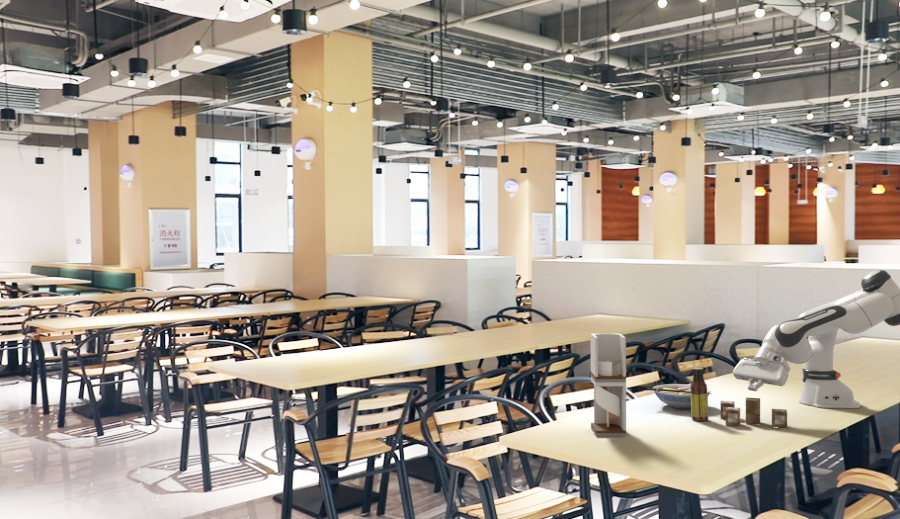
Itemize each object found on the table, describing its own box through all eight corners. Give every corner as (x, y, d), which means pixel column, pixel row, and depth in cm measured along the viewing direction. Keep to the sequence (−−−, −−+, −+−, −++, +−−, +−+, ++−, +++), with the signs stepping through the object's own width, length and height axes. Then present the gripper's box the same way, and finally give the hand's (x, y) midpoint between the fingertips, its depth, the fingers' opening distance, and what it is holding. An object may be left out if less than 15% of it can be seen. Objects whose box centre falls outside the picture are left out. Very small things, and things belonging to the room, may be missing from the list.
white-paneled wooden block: (740, 423, 290) (740, 407, 290) (740, 427, 285) (740, 410, 285) (725, 422, 292) (725, 406, 292) (725, 426, 287) (725, 409, 287)
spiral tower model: (591, 428, 286) (590, 333, 285) (620, 428, 286) (619, 333, 284) (595, 436, 274) (595, 337, 273) (626, 436, 274) (625, 337, 273)
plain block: (760, 422, 292) (760, 398, 292) (760, 425, 288) (760, 400, 288) (745, 421, 294) (745, 397, 294) (745, 424, 290) (745, 400, 289)
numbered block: (786, 425, 287) (786, 409, 286) (787, 429, 282) (787, 412, 282) (771, 424, 288) (771, 408, 288) (772, 428, 283) (772, 411, 283)
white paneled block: (734, 416, 301) (734, 401, 301) (734, 420, 296) (734, 403, 296) (720, 416, 303) (720, 400, 303) (720, 419, 298) (720, 402, 298)
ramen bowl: (716, 403, 324) (716, 384, 324) (710, 415, 304) (710, 394, 303) (655, 399, 335) (655, 380, 335) (645, 410, 314) (645, 390, 314)
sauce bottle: (708, 418, 299) (708, 367, 298) (708, 422, 293) (708, 369, 292) (690, 417, 301) (690, 366, 300) (690, 421, 295) (690, 369, 294)
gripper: (738, 352, 304) (723, 380, 298) (788, 359, 287) (773, 389, 282) (744, 362, 306) (730, 390, 301) (794, 369, 290) (780, 399, 285)
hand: (751, 389), depth 291 cm, fingers closed
